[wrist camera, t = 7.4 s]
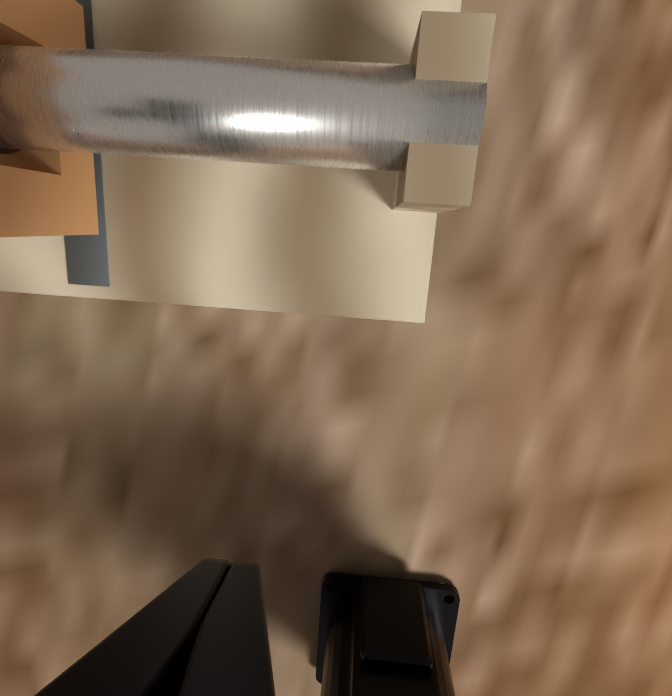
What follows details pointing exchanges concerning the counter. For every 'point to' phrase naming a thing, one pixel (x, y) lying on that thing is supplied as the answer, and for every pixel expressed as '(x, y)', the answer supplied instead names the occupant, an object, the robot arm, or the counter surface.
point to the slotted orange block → (39, 165)
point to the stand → (269, 175)
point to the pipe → (229, 107)
